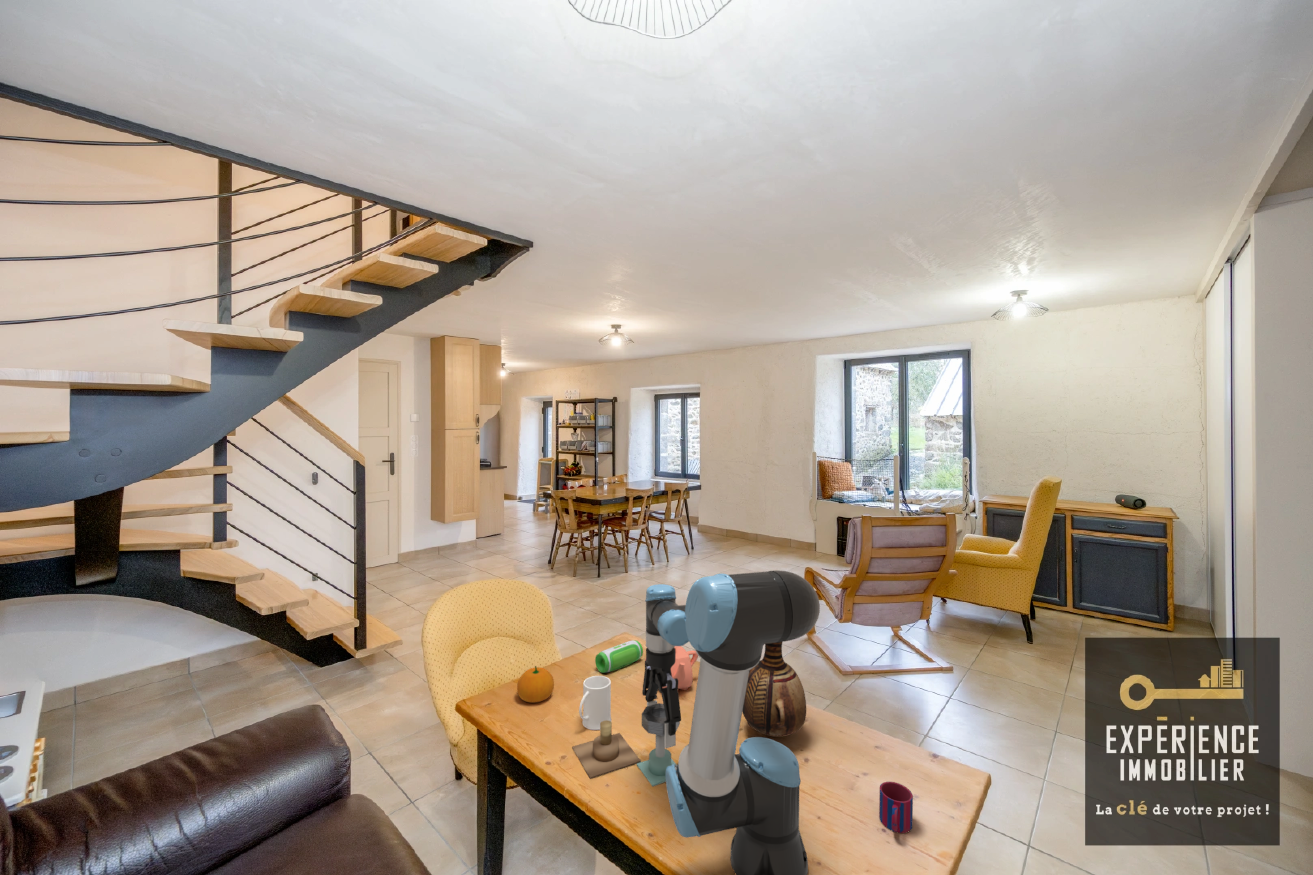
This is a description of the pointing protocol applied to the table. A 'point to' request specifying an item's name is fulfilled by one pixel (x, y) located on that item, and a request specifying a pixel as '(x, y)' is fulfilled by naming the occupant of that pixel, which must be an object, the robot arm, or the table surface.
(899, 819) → the cup
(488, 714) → the table surface
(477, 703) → the table surface
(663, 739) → the stand
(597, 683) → the mug
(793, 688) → the vase
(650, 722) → the clutch ring
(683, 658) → the teapot
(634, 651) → the speaker
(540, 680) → the fruit
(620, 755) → the hub
